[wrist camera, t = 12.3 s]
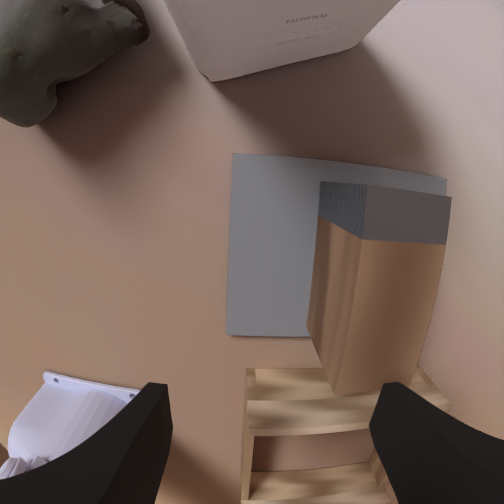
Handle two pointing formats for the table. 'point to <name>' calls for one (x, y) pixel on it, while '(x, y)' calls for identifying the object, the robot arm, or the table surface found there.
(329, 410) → the wooden cubby shelf
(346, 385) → the brown and grey block
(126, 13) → the rock
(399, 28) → the table surface
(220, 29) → the photo printer
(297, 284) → the slate mat
